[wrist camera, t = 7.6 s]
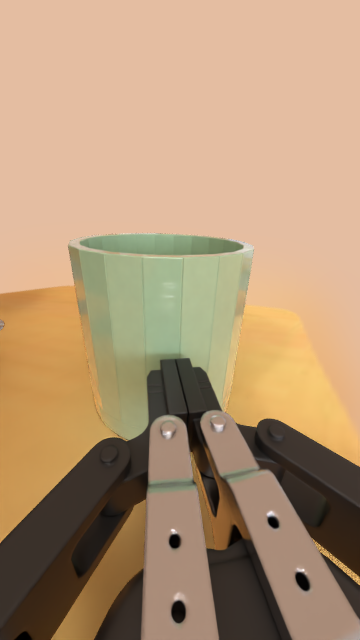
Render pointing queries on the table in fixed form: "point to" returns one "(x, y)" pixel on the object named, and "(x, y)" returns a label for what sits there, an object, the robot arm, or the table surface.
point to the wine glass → (1, 324)
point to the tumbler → (157, 314)
